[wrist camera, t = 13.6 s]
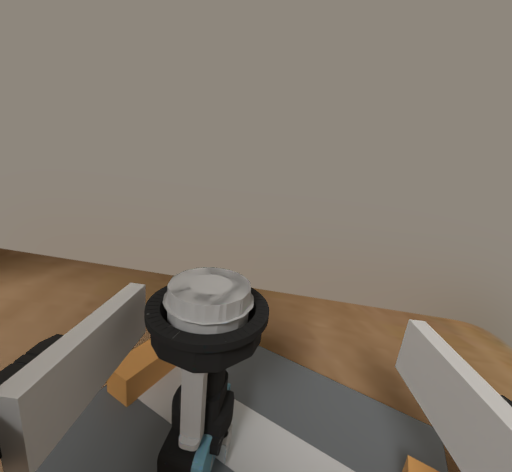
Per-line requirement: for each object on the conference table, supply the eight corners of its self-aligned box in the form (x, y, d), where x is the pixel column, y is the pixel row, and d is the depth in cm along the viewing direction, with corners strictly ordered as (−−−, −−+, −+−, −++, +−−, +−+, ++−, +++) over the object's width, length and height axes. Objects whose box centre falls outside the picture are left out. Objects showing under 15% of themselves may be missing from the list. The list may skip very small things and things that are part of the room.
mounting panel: (4, 474, 13) (-5, 426, 12) (201, 329, 26) (203, 301, 25) (556, 1289, 4) (661, 1311, 3) (435, 444, 17) (450, 406, 16)
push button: (185, 381, 18) (190, 247, 15) (259, 398, 17) (278, 261, 15) (123, 499, 12) (112, 303, 9) (237, 533, 11) (262, 332, 8)
